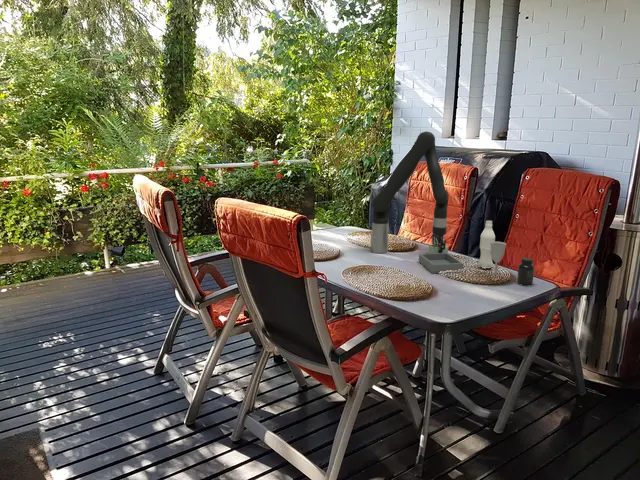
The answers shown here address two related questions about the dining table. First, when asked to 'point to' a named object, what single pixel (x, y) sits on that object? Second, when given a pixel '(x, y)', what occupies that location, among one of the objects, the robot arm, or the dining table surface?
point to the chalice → (497, 253)
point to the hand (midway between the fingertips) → (437, 254)
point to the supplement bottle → (525, 272)
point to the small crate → (436, 249)
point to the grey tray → (440, 262)
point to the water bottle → (486, 245)
